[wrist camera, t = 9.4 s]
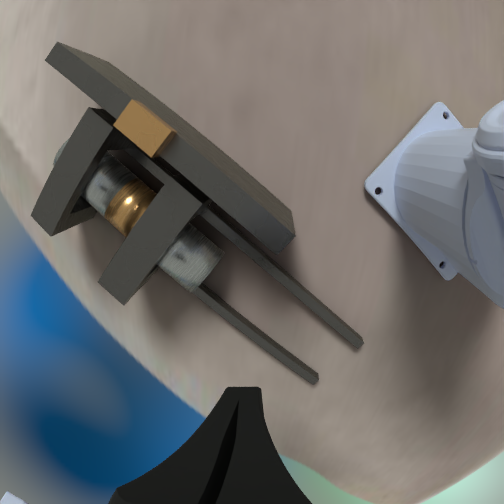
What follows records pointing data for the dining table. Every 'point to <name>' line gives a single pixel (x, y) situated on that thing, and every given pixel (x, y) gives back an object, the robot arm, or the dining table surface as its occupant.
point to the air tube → (132, 208)
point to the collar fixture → (167, 193)
